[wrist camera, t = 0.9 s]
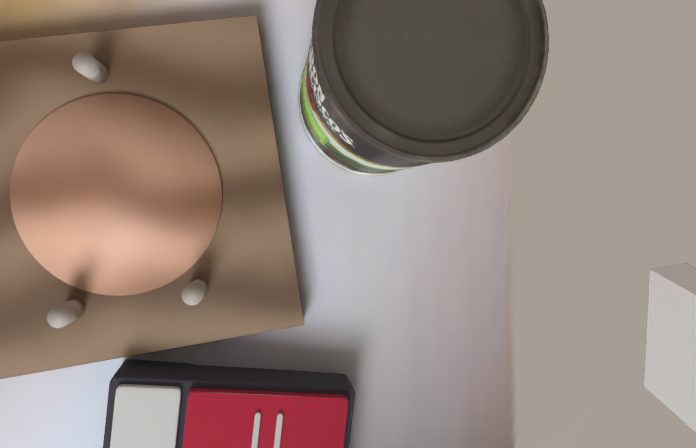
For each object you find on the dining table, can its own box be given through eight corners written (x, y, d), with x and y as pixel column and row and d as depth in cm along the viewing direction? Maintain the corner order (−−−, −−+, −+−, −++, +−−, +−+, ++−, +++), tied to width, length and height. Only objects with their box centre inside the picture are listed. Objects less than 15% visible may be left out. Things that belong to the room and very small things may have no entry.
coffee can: (317, 191, 36) (343, 185, 22) (282, 40, 35) (286, -67, 21) (460, 159, 37) (571, 134, 23) (429, 12, 36) (525, -106, 22)
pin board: (303, 319, 36) (306, 334, 32) (-10, 375, 33) (-49, 398, 29) (257, 23, 35) (254, 0, 31) (-72, 57, 32) (-120, 37, 28)
